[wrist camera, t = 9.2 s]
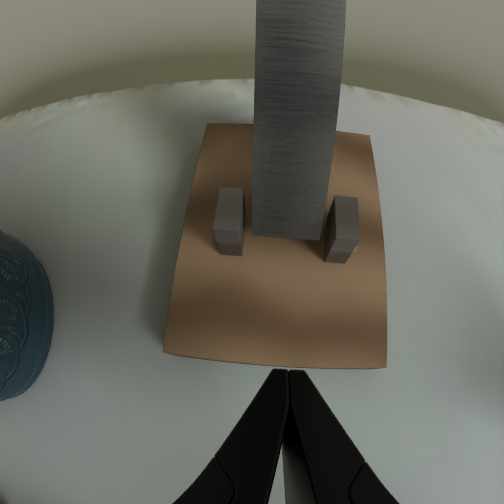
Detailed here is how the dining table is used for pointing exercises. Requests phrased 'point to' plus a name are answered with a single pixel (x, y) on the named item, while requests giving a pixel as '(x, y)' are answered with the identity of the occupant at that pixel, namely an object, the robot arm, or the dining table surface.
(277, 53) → the lever
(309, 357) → the board
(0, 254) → the canister
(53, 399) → the dining table surface
